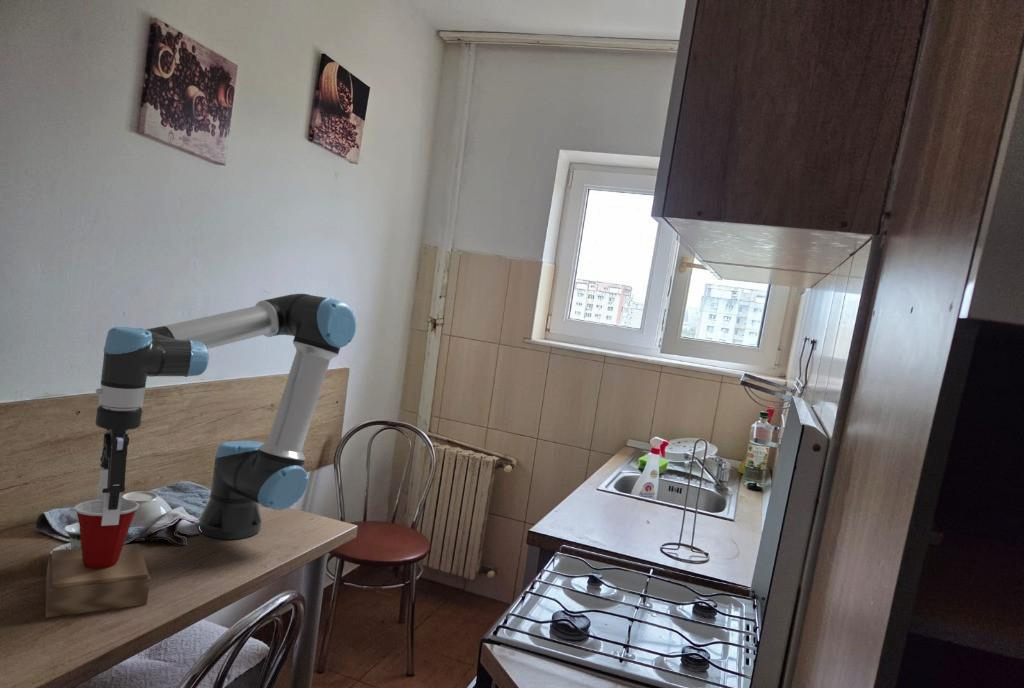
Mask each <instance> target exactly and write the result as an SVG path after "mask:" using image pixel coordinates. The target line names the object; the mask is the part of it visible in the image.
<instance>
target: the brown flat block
mask: <svg viewBox="0 0 1024 688" xmlns="http://www.w3.org/2000/svg"><path fill="white" fill-rule="evenodd" d="M147 566H148V565H147V564H146V561H145V556H144V554H143V550H142V547H141V545H140V543H130V544H124V546H123V547H122V550H121V553H120V557H119V560H118V561H117V563H116V564H115V565H114V566H112V567H109V568H104V569H90V568H87V567H85V566H84V565H83V560H82V549H81V547H80V548H69V549H66V548H65V549H57V550H52V551H51V553H49V554H48V560H47V567H46V576H45V618H53V617H54V618H56V617H60V616H61V617H62V616H69V615H76V614H77V615H78V614H85V613H92V612H99V611H107V610H114V609H115V610H116V609H123V608H131V607H138V606H145V605H146V604H148V599H149V591H150V585H151V584H150V583H151V577H150V574H149V571H148V567H147Z"/></svg>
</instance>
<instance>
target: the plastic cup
mask: <svg viewBox="0 0 1024 688" xmlns="http://www.w3.org/2000/svg"><path fill="white" fill-rule="evenodd" d="M103 507H104V499H97V498H96V499H91V500H87V501H83V502H79V503H77V504H75V506H74V511H75V513H76V515H77V519H78V524H79V534H80V535H79V537H80V548H81V549H82V560H83V565H84V566H85V567H87V568H90V569H104V568H109V567H112V566H114V565H115V564H116V563H117V561H118V560H119V557H120V553H121V550H122V547H123V546H124V545H125V541H126V538H127V536H128V534H129V531H130V530H129V529H130V527H131V523H132V521H133V519H134V516H135V513H136V511H137V510H138V509H139V508H140V504H139V502H137V501H134V500H132V499H126V498H122V501H121V509H120V516H119V524H118V525H107V526H101V523H102V515H103Z"/></svg>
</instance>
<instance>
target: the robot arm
mask: <svg viewBox="0 0 1024 688" xmlns="http://www.w3.org/2000/svg"><path fill="white" fill-rule="evenodd" d="M356 330H357V321H356V317H355V315H354V311H353V310H352V308H351V307H350V306H349V305H348V304H347V303H346V302H344V301H340V300H337V299H336V298H331V297H324V296H318V295H313V294H312V295H311V294H309V293H308V294H307V293H295V294H294V293H292V294H286V295H282V296H278V297H272V298H269V299H268V298H267V299H263V300H259V301H257V302H256V304H255V305H253V306H250V307H246V308H242V309H241V308H240V309H237V310H235V309H234V310H231V311H227V312H222V313H218V314H212V315H210V316H203V317H200V318H195V319H194V318H193V319H189V320H185V321H180V322H176V323H172V324H167V325H161V326H157V327H152V328H146V329H144V328H141V327H130V326H129V327H128V326H115V327H112V328H110V329H108V331H107V335H106V338H105V343H104V348H103V360H102V370H101V378H100V388H96V389H95V394H97V395H98V394H99V396H98V404H99V405H100V406H98V407H97V409H96V416H95V425H96V426H97V427H98V428H101V429H104V430H105V433H104V434H103V443H102V444H103V445H102V447H103V448H102V452H101V456H100V467H101V468H100V472H99V479H98V487H97V495H96V500H97V499H104V507H103V515H102V523H101V526H107V525H118V524H119V516H120V509H121V501H122V499H123V493H124V492H125V491H126V486H125V484H126V473H127V472H126V471H127V469H126V468H127V456H128V446H129V444H130V437H129V436H128V435H129V434H128V433H127V432H126V431H128V430H135V429H138V428H140V426H141V422H142V415H143V409H142V408H141V407H143V406H144V401H145V395H146V394H145V393H146V385H147V384H146V383H147V378H148V377H151V378H153V377H184V378H188V377H193V376H195V377H196V376H200V375H202V374H203V373H205V371H206V370H207V368H208V366H209V360H210V354H209V349H213V348H216V347H220V346H225V345H229V344H233V343H236V342H241V341H245V340H248V339H252V338H257V337H259V336H264V337H267V338H272V337H276V336H292V337H293V340H292V344H293V345H294V348H295V354H294V357H293V360H292V364H291V366H290V370H289V373H288V377H287V380H286V381H285V385H284V389H283V393H282V395H281V398H280V401H279V404H278V407H277V410H276V414H275V417H274V420H273V423H272V424H271V425H272V426H271V428H270V432H269V435H268V439H267V441H266V442H260V441H254V440H233V441H232V440H231V441H226V442H223V443H221V444H219V445H218V446H217V448H216V453H215V456H214V465H213V473H212V479H211V480H212V481H211V485H210V486H211V488H210V495H209V499H208V501H207V503H206V506H205V507H204V509H203V511H202V513H201V515H200V517H199V520H198V525H199V526H200V529H201V531H202V533H203V535H204V536H207V537H210V538H214V539H219V540H220V539H221V540H237V539H238V540H239V539H245V538H249V536H250V537H252V535H253V536H255V535H257V534H258V533H259V532H260V531H261V529H262V523H263V522H262V515H261V510H260V506H262V507H263V508H268V509H271V510H273V511H274V510H275V511H282V510H283V511H284V510H286V509H289V508H291V507H293V506H294V504H296V503H298V502H299V501H300V499H302V497H303V496H304V494H305V492H306V490H307V488H308V484H309V476H308V473H307V471H306V469H305V468H304V465H305V461H306V456H305V455H304V452H303V448H304V444H305V441H306V438H307V434H308V432H309V429H310V425H311V422H312V419H313V415H314V413H315V409H316V407H317V403H318V400H319V397H320V394H321V390H322V388H323V384H324V381H325V379H326V377H325V376H326V374H327V371H328V368H329V364H330V362H331V360H332V359H334V358H336V357H338V356H339V353H340V350H341V348H344V347H346V346H347V345H348V344H349V343H351V342H352V341H353V338H354V337H355V334H356ZM202 533H201V534H202ZM256 533H257V534H256Z"/></svg>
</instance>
